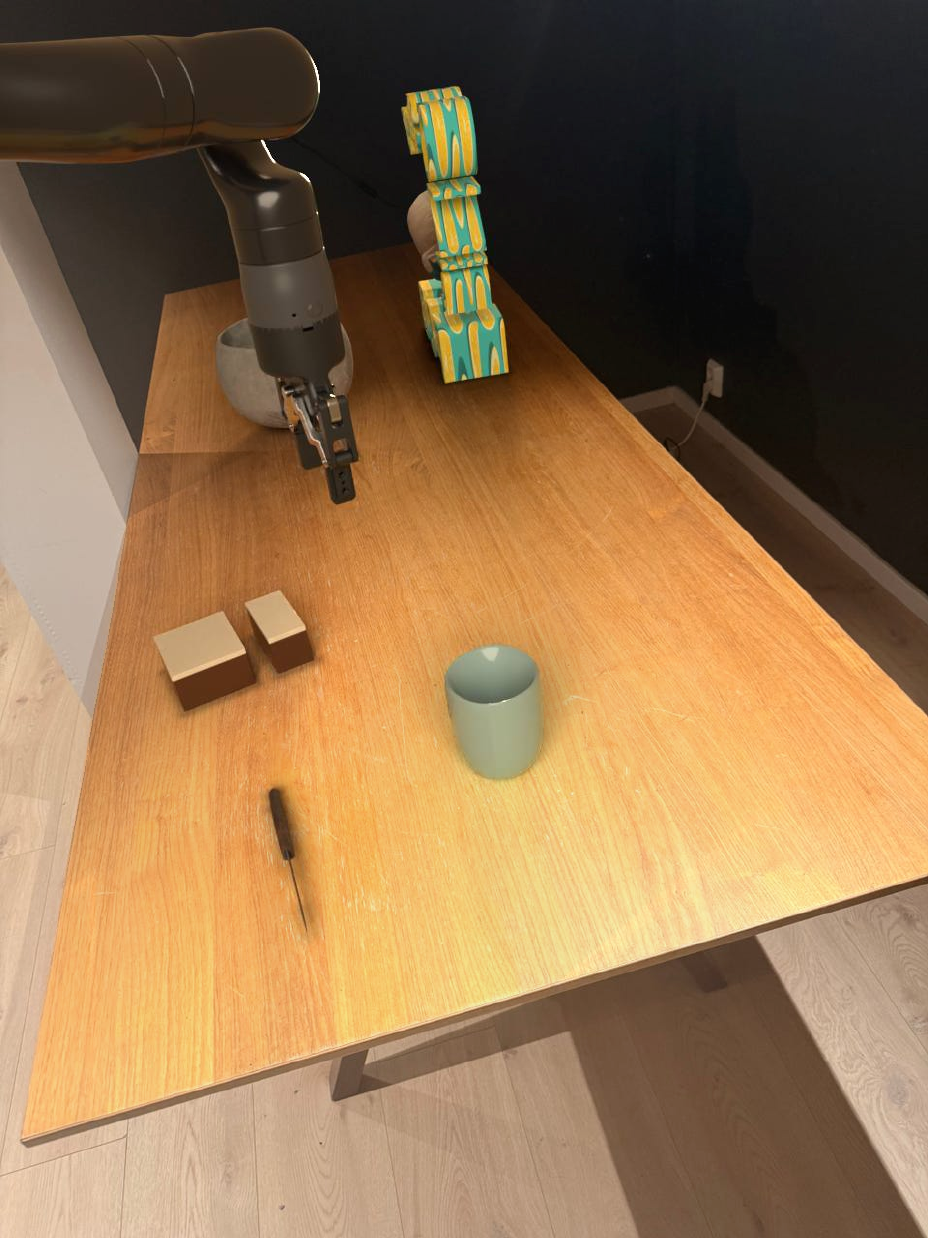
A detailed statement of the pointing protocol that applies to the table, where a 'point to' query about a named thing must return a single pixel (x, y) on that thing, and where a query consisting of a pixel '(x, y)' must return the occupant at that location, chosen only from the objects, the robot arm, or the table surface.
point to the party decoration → (453, 238)
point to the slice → (279, 631)
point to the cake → (204, 660)
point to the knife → (283, 835)
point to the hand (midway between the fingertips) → (328, 483)
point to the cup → (496, 710)
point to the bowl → (261, 376)
